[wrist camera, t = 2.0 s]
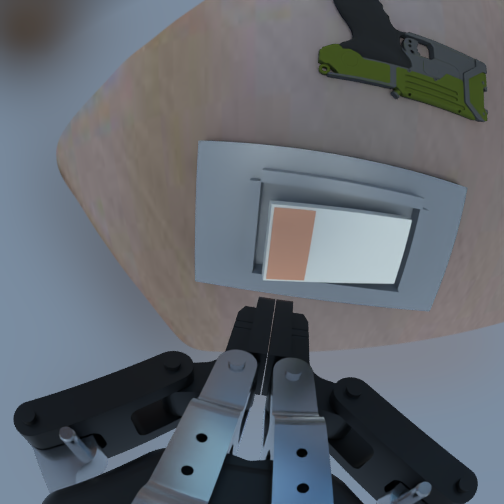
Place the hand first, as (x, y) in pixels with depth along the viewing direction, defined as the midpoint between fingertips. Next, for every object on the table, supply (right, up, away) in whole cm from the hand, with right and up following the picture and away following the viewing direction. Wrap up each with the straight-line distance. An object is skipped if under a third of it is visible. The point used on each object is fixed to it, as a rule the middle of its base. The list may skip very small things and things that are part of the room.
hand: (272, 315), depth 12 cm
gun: (+15, +24, +5) cm, 29 cm away
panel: (+7, +5, +14) cm, 16 cm away
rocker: (+6, +3, +9) cm, 12 cm away
